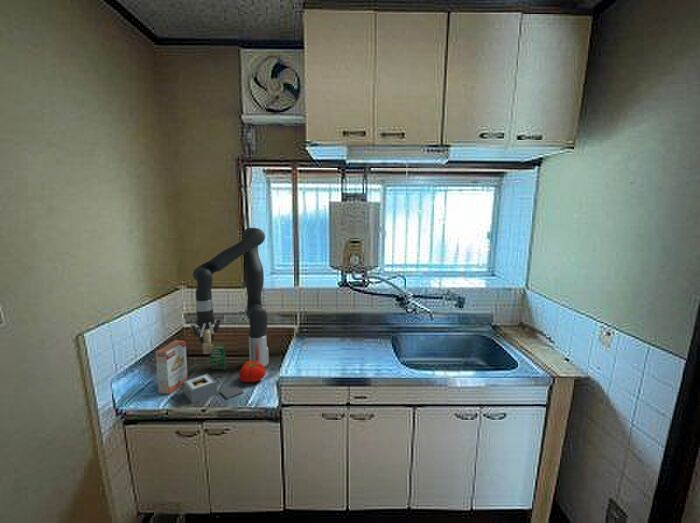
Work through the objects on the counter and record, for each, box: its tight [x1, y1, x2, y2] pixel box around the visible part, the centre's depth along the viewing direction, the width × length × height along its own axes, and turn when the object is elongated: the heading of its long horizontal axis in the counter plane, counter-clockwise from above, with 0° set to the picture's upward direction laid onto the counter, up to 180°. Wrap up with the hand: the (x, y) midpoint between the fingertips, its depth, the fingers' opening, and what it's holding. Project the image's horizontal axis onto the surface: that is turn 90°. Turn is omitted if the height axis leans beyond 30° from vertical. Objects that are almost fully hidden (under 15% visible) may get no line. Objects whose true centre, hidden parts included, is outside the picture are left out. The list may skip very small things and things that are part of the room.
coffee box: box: [209, 344, 227, 370], centre depth 177 cm, size 8×3×13 cm, turn 88°
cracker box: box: [155, 339, 189, 395], centre depth 158 cm, size 14×6×21 cm, turn 172°
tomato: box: [238, 360, 266, 383], centre depth 166 cm, size 14×13×9 cm
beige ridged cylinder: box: [202, 328, 213, 355], centre depth 163 cm, size 4×4×12 cm
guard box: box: [182, 373, 218, 404], centre depth 153 cm, size 11×11×6 cm
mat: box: [219, 384, 245, 400], centre depth 155 cm, size 8×8×1 cm
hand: (206, 342), depth 163 cm, fingers closed on beige ridged cylinder, 4 cm apart
